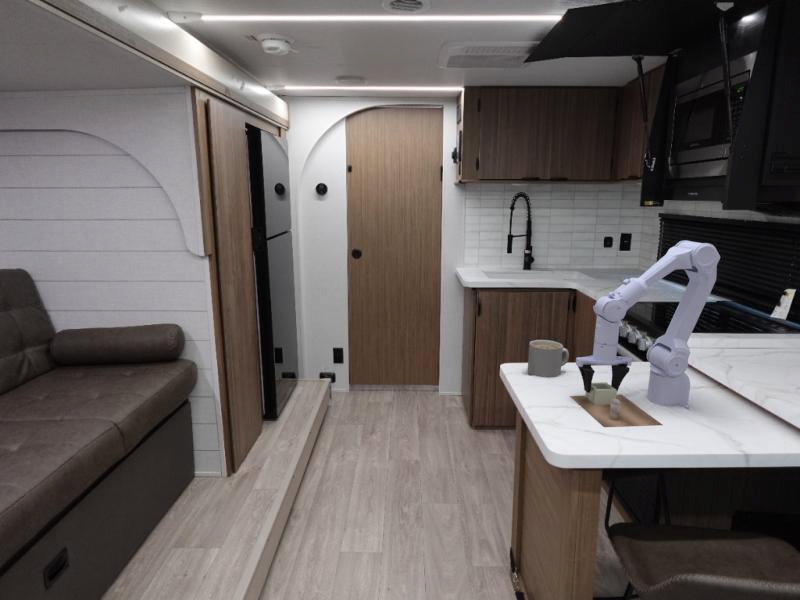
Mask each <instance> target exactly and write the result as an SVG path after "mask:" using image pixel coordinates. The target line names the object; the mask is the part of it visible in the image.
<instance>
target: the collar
mask: <svg viewBox="0 0 800 600" xmlns="http://www.w3.org/2000/svg"><path fill="white" fill-rule="evenodd" d="M617 393H618V391H617V390H616V389H614V388H613V387H612V386H611V384H609V383H608V382H606V381H604V382H603V381H602V382H592V383H591V391H590V393H588V392H586V391H585V395H584V396H585V397H587V398H588V399H589V400H590V401H591V402H592V403H594V404H595V405H607V404H611V401H612V400H613V399H616V395H618V394H617Z"/></svg>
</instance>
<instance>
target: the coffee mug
mask: <svg viewBox="0 0 800 600" xmlns="http://www.w3.org/2000/svg"><path fill="white" fill-rule="evenodd" d="M528 347H529V348H528V358H527V359H528V361H527V372H526V373H527V375H528V376H530V377H531V376H533V377H535V376H536V377H540V378H548V379H549V378H557V377H559V376H561V373H562V372H561V371H562V367H563V366H565V365H566V364H567V363H568V361H569V358H570V357H569V355H570V354H569V350H568V348H565V347H564V346H563V344H562V343H560V342H558V341H554V340H549V339H536V340H535V339H534V340H531V341H529V344H528Z"/></svg>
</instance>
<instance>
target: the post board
mask: <svg viewBox="0 0 800 600" xmlns="http://www.w3.org/2000/svg"><path fill="white" fill-rule="evenodd" d="M585 396H586V395H570V396H569V397H570V398H571V399H572V400H573V401H574V402H576V403H577V405H579V406H580V407H581V408H582V409H583V410H584V411H585V412H587V414H588V415H590V417H592V418H593V419H594V420H595V421H597V423H598V424H600V426H602V427H603V428H620V427H622V428H623V427H626V428H627V427H645V426H647V427H648V426H651V427H652V426H653V427H654V426H663V424H662V423H661V422H660V421H659V420H657V419H656V418H655V417H653V416H652V415H650V414H649V413H648V412H646V411H645V410H643V409H642V408H641V407H639V406H638V405H637V404H635V403H634V402H632V401H631V400H629V399H628V398H627V397H625V396H624V395H623V394H616V399H613V400H612V401H611V404H607V405H595V404H594V403H592V402H591V401H590V400H589V399H588V398H587V397H585Z"/></svg>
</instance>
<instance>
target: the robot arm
mask: <svg viewBox="0 0 800 600" xmlns="http://www.w3.org/2000/svg"><path fill="white" fill-rule="evenodd" d="M720 259H721V256H720V254H719V252H718V250H717V248H716V246H714V245H713V244H712V243H708V242H703V243H702V242H698V241H697V242H696V241H691V240H687V239H686V240H680V241H679V242H677V243H676V244H675V245H674V246H672V247H670V248H669V249H668V250H667V252H666V254H664V256H662V257H661V258H660V259H659V260H657V261H656V262H655V263H654V264H653V265H651V267H649V268H648V269H647V270H646V271H645V272H644V273H643V274H642V275H640V276H639V277H630V278H629V279H628V278H625V279H624V280H623V281H622V282H623V283H622V284H621V285H620V286H618V287H617V288H616V289H615V290H614V291H610V292H608V295H606V296H601V297H599V299H597V300H596V302H595V305H593V311H594V313H595V315H596V321H595V330H594V339H593V340H594V341H593V351H592V352H593V353H592V355H588V356H582V357H578V356H577V357H576V359H575V365H576V366H577V367H578V370H579V372H580V375H581V379H582V383H583V388H584V389H583V390H584V391H585V393H586V392H588V393H590V391H591V383H593V382H592V381H593V378H594V374H595V373H596V372H595V370H594V368H593V366H611V384H610V385H611V386H612V387H613V388H614V389H616V390H617V392H618V391H619V390H620V387H621V384H622V382H623V381H624V378H625V377H626V375H628V373H629V372H630V366H631V367H632V363H633V362H632V361H633V358H631V357H630V356H617V352H618V343H619V342H618V341H619V336H620V335H619V333H620V325H621V320H623V319H624V318H625V316H626V315H627V311H628V310H629V309H630V308H631V307H633V305H635V304H636V303H638V302H639V301H640V300H642V299H643V298H644V297H646V296H647V295H648V290H649V288H650V287H651V286H653V285H654V284H656V283H657V282H658V281H661V280H662V279H663V278H665V277H666V276H667V275H669V274H671V273H672V272H674V271H676V270H684V272H685V273H686V275H687V276H688V280H689V282H688V283H687V285H686V288H685V290H684V292H683V294H682V296H681V299H680V301H679V303H678V306H677V307H676V310H675V312H674V314H673V315H672V318H671V321H670V323H669V325H668V327H667V329H666V332H665V333H664V334H663V335H661V336H659V337H657V338H656V340H655V342H654V343H653V344H652V345H651V346H650V347H649V348H648V350H647V353H646V359H647V361H648V363H650V364H649V368H650V369H649V370H650V371H649V378H648V387H647V395H646V398H647V401H648V402H649V401H650V402H651V403H654V404H656V405H659V406H660V405H661V406H667V407H668V406H670V407H671V406H676V405H679V406H681V407H683V408H684V409H690V406H689V398H690V397H689V396H690V390H691V379H690V377H689V376H688V374H686V371H687V370H688V367H689V357H690V355H691V350H690V348H689V345H688V341H689V339H690V337H691V335H692V332H693V331H694V329H695V326H696V324H697V322H698V321H699V318H700V315H701V313H702V311H703V310H704V307H705V305H706V303H707V301H708V298H709V297H710V294H711V293H712V290H713V288H714V285H715V283H716V282H717V271H718V268H717V266H718V264H719V262H720ZM592 368H593V369H592Z"/></svg>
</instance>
